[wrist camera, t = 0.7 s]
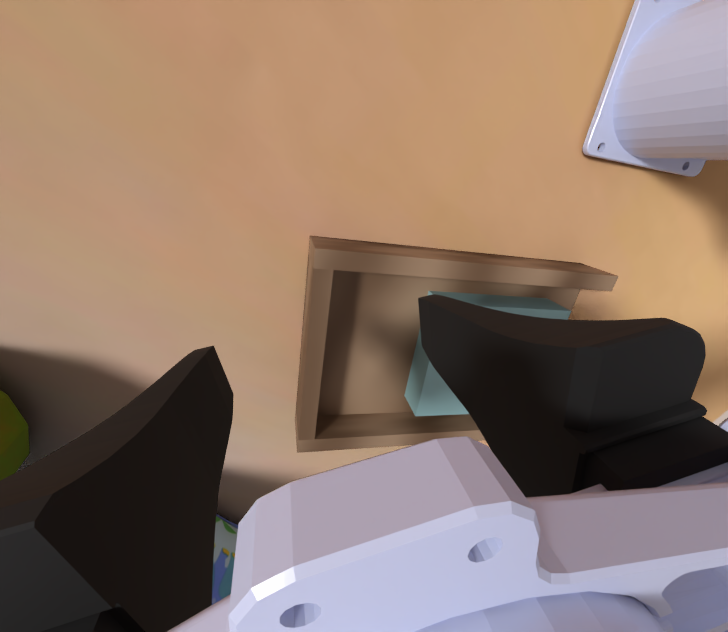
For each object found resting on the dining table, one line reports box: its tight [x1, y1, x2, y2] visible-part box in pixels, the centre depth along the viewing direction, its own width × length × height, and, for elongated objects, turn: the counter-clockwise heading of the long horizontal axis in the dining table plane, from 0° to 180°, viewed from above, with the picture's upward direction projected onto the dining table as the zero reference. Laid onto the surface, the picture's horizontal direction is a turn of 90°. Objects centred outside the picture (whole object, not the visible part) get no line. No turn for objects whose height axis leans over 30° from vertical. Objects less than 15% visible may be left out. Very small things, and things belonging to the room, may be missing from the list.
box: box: [295, 236, 618, 453], centre depth 23 cm, size 19×13×3 cm
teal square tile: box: [404, 291, 571, 416], centre depth 23 cm, size 9×8×2 cm
